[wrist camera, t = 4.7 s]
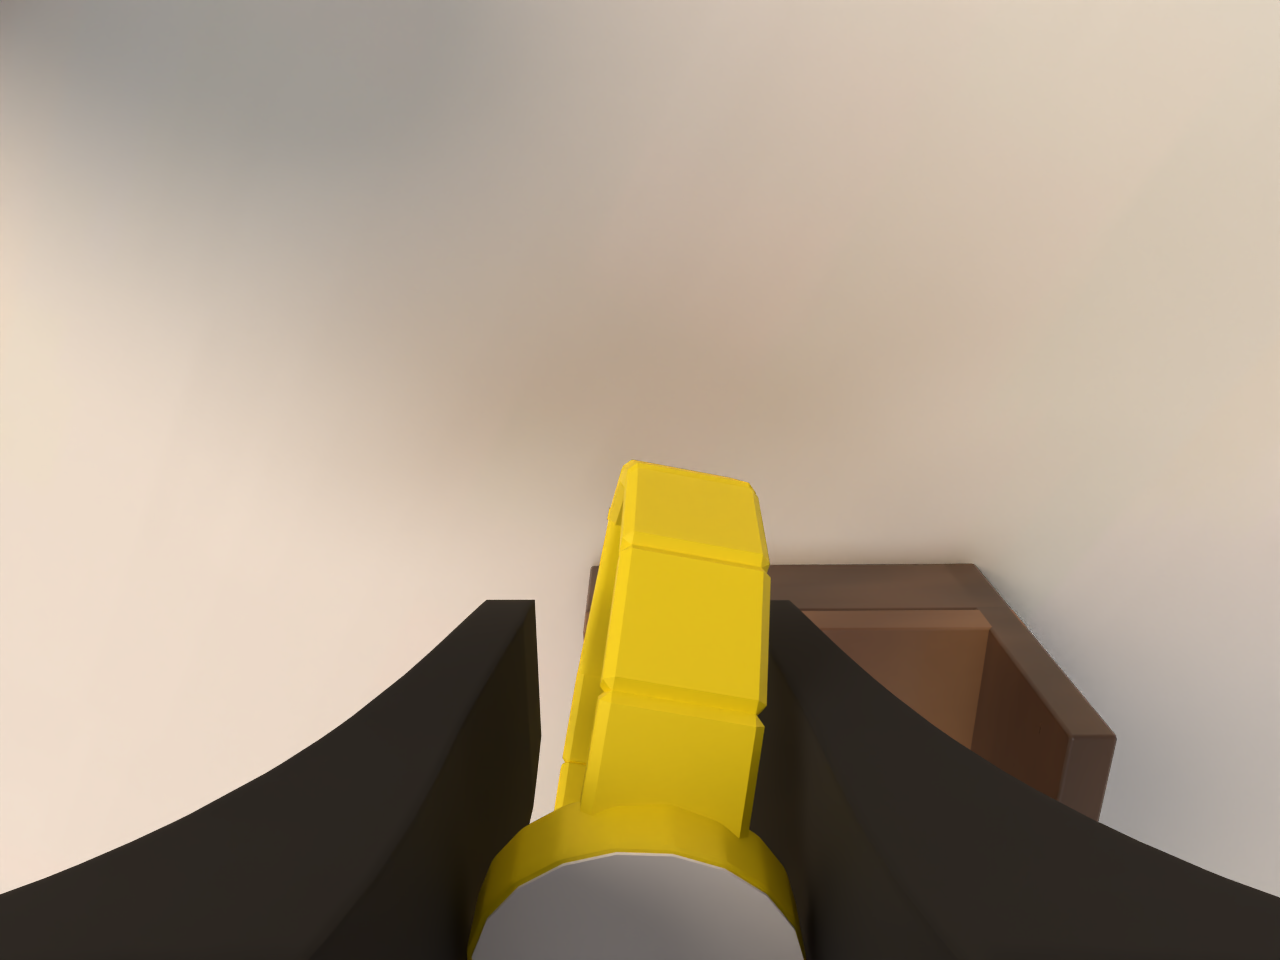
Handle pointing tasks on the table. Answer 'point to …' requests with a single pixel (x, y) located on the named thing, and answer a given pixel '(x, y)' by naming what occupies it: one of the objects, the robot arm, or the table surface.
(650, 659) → the watch
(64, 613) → the table surface
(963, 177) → the table surface
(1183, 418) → the table surface
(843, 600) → the step shelf
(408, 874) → the robot arm
